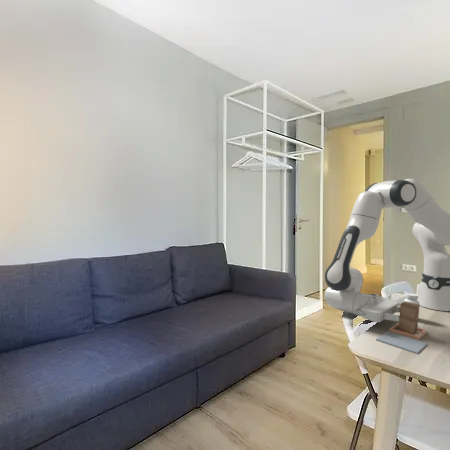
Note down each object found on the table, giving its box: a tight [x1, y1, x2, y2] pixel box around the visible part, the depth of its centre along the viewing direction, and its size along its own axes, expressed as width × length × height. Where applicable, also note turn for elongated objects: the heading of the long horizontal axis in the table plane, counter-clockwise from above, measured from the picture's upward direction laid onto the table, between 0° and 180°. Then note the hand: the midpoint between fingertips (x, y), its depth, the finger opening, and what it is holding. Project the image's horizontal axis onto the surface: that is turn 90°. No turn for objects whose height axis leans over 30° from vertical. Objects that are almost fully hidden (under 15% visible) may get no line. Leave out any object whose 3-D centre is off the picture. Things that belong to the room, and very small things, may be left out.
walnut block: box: [398, 301, 420, 335], centre depth 109 cm, size 4×4×10 cm
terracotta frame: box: [388, 321, 427, 341], centre depth 109 cm, size 9×9×1 cm
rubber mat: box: [375, 330, 428, 355], centre depth 100 cm, size 10×12×1 cm
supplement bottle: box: [403, 292, 420, 319], centre depth 122 cm, size 5×5×10 cm
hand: (404, 315), depth 110 cm, fingers open, 8 cm apart
